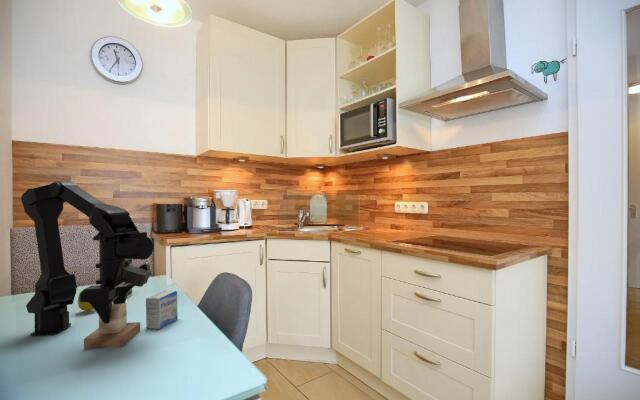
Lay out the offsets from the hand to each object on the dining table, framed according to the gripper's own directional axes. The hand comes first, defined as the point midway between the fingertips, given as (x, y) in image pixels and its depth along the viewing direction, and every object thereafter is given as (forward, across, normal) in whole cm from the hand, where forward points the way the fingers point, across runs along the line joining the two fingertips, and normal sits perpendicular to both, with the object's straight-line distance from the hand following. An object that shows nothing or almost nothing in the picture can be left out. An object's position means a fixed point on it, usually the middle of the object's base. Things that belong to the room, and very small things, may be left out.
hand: (113, 318), depth 80 cm
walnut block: (+6, 0, 0) cm, 6 cm away
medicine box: (+6, +9, -9) cm, 14 cm away
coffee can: (+6, +39, +17) cm, 43 cm away
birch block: (+3, 0, 0) cm, 3 cm away
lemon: (+6, +23, +18) cm, 30 cm away
